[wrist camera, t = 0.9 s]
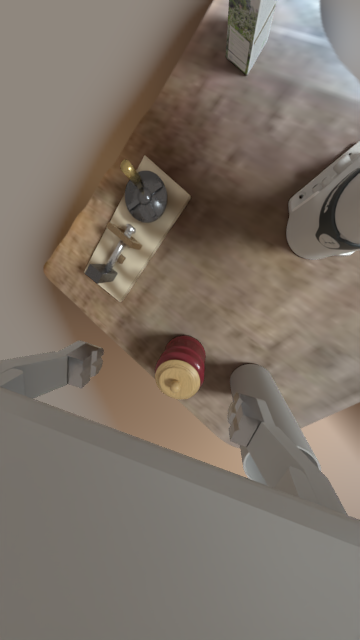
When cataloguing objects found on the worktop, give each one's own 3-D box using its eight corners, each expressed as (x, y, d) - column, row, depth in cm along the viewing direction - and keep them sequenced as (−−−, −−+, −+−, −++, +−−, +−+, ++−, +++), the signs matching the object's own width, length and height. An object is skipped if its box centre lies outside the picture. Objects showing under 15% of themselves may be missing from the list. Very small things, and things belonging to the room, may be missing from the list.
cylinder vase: (225, 366, 53) (236, 444, 30) (267, 359, 50) (317, 440, 27) (234, 398, 56) (250, 492, 33) (274, 394, 53) (324, 494, 30)
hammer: (130, 222, 44) (115, 214, 37) (142, 233, 44) (129, 226, 37) (100, 275, 50) (83, 276, 43) (111, 283, 50) (95, 286, 43)
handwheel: (141, 162, 37) (129, 143, 32) (176, 192, 38) (170, 179, 32) (119, 204, 41) (104, 194, 35) (151, 232, 41) (142, 226, 35)
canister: (172, 328, 53) (154, 356, 36) (211, 342, 52) (211, 378, 35) (161, 361, 57) (141, 400, 41) (197, 375, 56) (191, 421, 40)
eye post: (121, 227, 45) (108, 221, 39) (142, 245, 45) (133, 242, 40) (118, 231, 45) (105, 226, 40) (139, 249, 46) (130, 247, 40)
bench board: (146, 158, 41) (139, 147, 37) (191, 198, 41) (188, 190, 37) (87, 272, 52) (76, 272, 48) (122, 301, 53) (115, 303, 49)
